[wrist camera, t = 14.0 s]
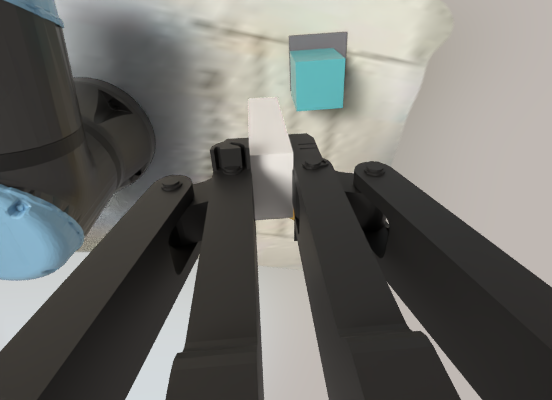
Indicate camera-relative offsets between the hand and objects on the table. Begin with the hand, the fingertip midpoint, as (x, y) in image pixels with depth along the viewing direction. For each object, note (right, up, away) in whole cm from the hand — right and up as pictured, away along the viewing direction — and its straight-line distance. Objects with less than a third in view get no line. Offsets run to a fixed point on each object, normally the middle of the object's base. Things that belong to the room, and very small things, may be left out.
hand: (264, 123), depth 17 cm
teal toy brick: (+5, +12, +24) cm, 27 cm away
